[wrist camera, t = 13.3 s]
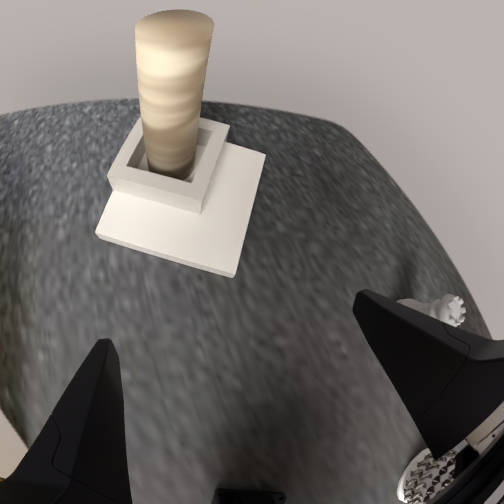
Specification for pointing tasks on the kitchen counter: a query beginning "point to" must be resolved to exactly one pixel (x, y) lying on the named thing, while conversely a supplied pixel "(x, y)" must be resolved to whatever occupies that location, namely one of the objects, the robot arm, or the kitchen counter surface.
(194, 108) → the birch post
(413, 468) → the decorative candle
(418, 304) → the rook chess piece
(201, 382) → the kitchen counter surface
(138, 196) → the socket base
